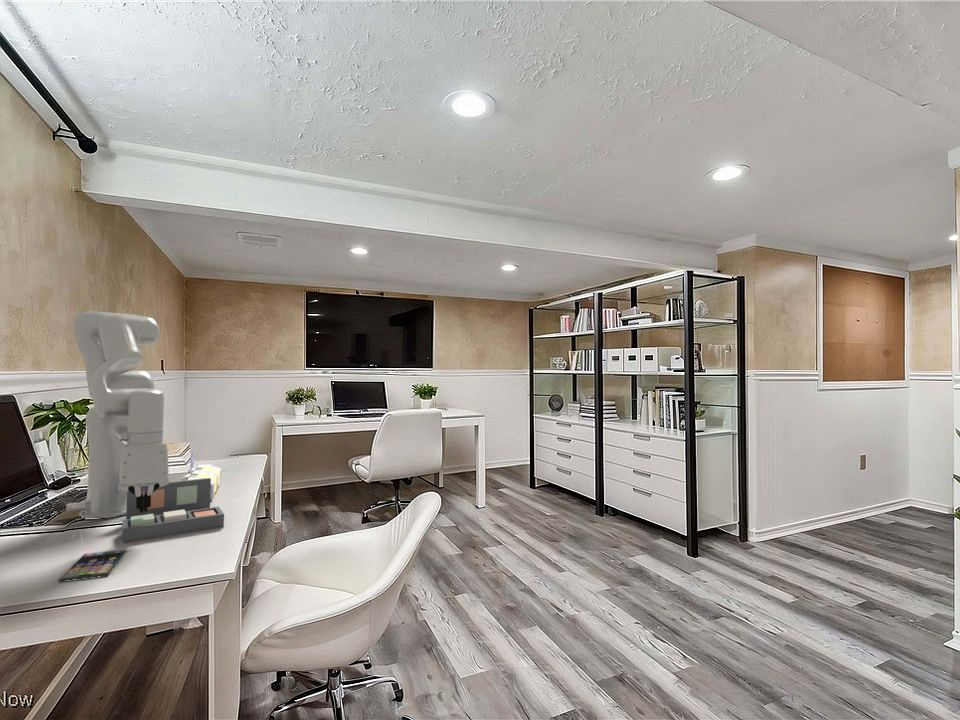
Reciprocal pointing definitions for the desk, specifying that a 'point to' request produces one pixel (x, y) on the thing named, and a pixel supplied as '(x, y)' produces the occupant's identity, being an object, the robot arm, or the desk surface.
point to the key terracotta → (203, 513)
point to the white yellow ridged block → (205, 475)
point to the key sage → (142, 520)
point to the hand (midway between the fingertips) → (143, 510)
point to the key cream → (174, 515)
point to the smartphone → (93, 565)
